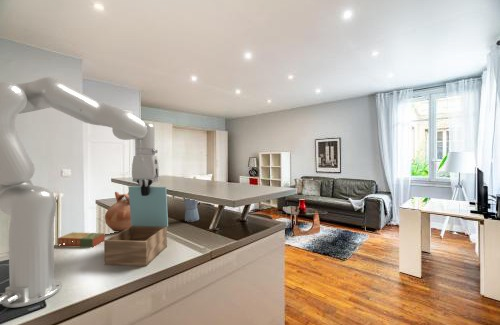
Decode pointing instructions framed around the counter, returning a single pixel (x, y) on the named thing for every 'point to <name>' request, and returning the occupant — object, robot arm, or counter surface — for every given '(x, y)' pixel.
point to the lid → (148, 207)
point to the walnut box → (135, 246)
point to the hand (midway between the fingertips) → (145, 195)
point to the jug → (119, 214)
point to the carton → (81, 239)
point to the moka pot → (191, 210)
